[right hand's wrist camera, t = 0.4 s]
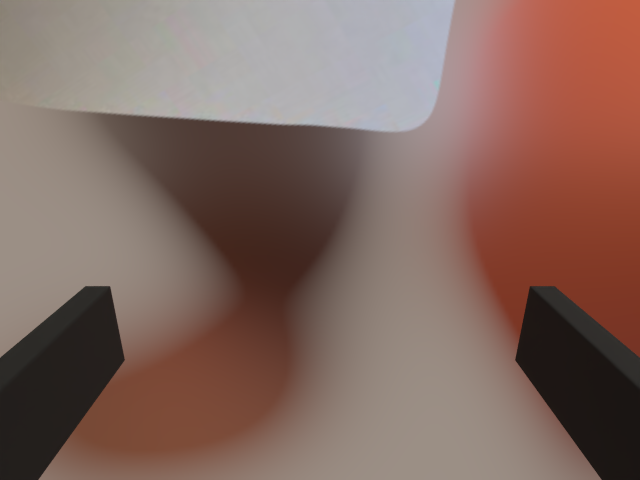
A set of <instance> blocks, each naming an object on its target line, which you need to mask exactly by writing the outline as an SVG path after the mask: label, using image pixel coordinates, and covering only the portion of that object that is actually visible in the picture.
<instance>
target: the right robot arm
mask: <svg viewBox="0 0 640 480" xmlns="http://www.w3.org/2000/svg"><path fill="white" fill-rule="evenodd" d="M124 360H125V359H124V354H123V349H122V344H121V339H120V334H119V329H118V324H117V319H116V314H115V309H114V304H113V299H112V294H111V289H110V286H86V287H84V288H83V289H82V290H81V291H79V292H78V293H77V294H76V295H75V296H73V297H72V298H71V299H70V300H69V301H68V302H66V303H65V304H64V305H63V306H61V307H60V308H59V309H58V310H57V311H56V312H54V313H53V314H52V315H51V316H50V317H48V318H47V319H46V320H45V321H44V322H42V323H41V324H40V325H39V326H38V327H36V328H35V329H34V330H33V331H32V332H30V333H29V334H28V335H27V336H26V337H24V338H23V339H22V340H21V341H20V342H19V343H17V344H16V345H15V346H14V347H13V348H11V349H10V350H9V351H8V352H7V353H5V354H4V355H3V356H2V357H1V358H0V480H38V479H39V478H40V477H41V475H42V474H43V472H44V471H45V470H46V468H47V467H48V465H49V464H50V463H51V461H52V460H53V459H54V457H55V456H56V454H57V453H58V452H59V450H60V449H61V447H62V446H63V445H64V443H65V442H66V441H67V439H68V438H69V436H70V435H71V434H72V432H73V431H74V430H75V428H76V427H77V425H78V424H79V423H80V421H81V420H82V418H83V417H84V416H85V414H86V413H87V411H88V410H89V409H90V407H91V406H92V405H93V403H94V402H95V400H96V399H97V398H98V396H99V395H100V394H101V392H102V391H103V389H104V388H105V387H106V385H107V384H108V382H109V381H110V380H111V378H112V377H113V376H114V374H115V373H116V371H117V370H118V369H119V367H120V366H121V364H122V363H123V362H124ZM515 360H516V362H517V363H518V365H519V366H520V367H521V369H522V370H523V371H524V373H525V374H526V376H527V377H528V378H529V380H530V381H531V382H532V384H533V385H534V387H535V388H536V389H537V391H538V392H539V394H540V395H541V396H542V398H543V399H544V400H545V402H546V403H547V405H548V406H549V407H550V409H551V410H552V412H553V413H554V414H555V416H556V417H557V418H558V420H559V421H560V423H561V424H562V425H563V427H564V428H565V430H566V431H567V432H568V434H569V435H570V436H571V438H572V439H573V441H574V442H575V443H576V445H577V446H578V448H579V449H580V450H581V452H582V453H583V454H584V456H585V457H586V459H587V460H588V461H589V463H590V464H591V465H592V467H593V468H594V470H595V471H596V472H597V474H598V475H599V477H600V478H601V479H602V480H640V358H639V357H638V356H637V355H636V354H635V353H633V352H632V351H631V350H630V349H629V348H627V347H626V346H625V345H624V344H623V343H621V342H620V341H619V340H618V339H617V338H616V337H614V336H613V335H612V334H611V333H610V332H608V331H607V330H606V329H605V328H604V327H602V326H601V325H600V324H599V323H598V322H596V321H595V320H594V319H593V318H592V317H590V316H589V315H588V314H587V313H586V312H584V311H583V310H582V309H581V308H580V307H579V306H577V305H576V304H575V303H574V302H573V301H571V300H570V299H569V298H568V297H567V296H565V295H564V294H563V293H562V292H561V291H559V290H558V289H557V288H556V287H554V286H530V289H529V294H528V299H527V304H526V309H525V314H524V319H523V324H522V329H521V334H520V339H519V344H518V349H517V354H516V359H515Z"/></svg>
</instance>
